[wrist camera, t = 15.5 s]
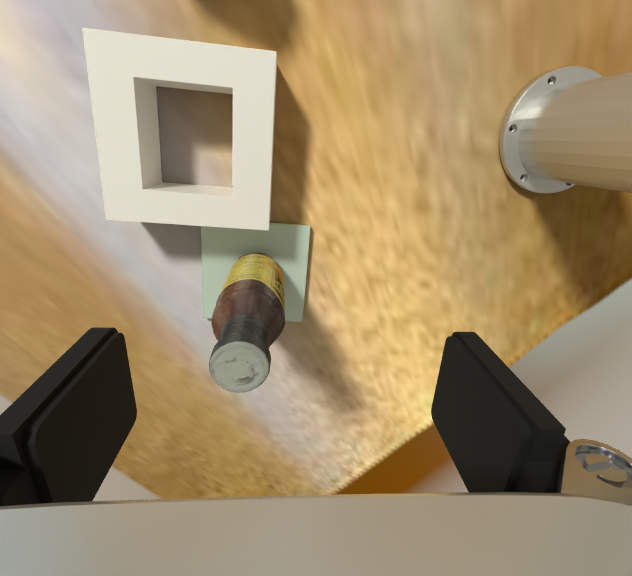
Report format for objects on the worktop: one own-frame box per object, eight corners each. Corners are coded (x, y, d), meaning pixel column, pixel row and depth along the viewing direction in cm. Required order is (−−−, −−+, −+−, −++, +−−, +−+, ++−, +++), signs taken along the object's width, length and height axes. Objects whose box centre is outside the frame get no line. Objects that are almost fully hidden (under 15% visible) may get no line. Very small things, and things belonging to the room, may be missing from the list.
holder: (277, 64, 36) (276, 51, 30) (270, 218, 41) (268, 230, 36) (114, 45, 34) (82, 27, 29) (130, 208, 40) (105, 219, 34)
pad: (309, 225, 42) (310, 226, 41) (302, 319, 47) (302, 322, 46) (202, 217, 41) (200, 219, 40) (204, 315, 45) (203, 318, 44)
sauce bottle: (277, 303, 45) (275, 420, 26) (225, 294, 44) (185, 408, 25) (289, 253, 42) (295, 341, 24) (234, 241, 41) (197, 324, 23)
